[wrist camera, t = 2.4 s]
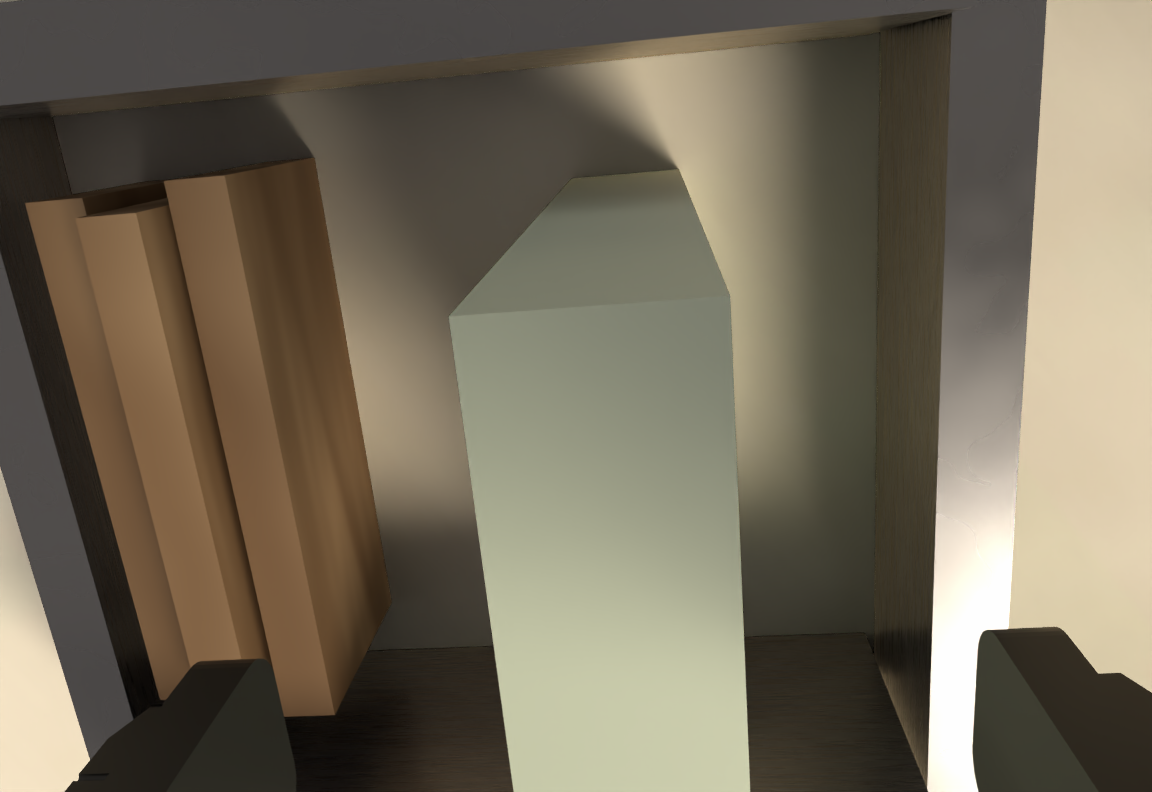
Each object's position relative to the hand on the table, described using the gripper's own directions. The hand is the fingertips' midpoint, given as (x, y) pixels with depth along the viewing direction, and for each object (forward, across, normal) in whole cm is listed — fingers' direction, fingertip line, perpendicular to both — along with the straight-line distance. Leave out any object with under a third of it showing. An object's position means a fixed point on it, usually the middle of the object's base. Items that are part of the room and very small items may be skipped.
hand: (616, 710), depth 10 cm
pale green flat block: (+13, 0, 0) cm, 13 cm away
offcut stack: (+13, +9, 0) cm, 16 cm away
